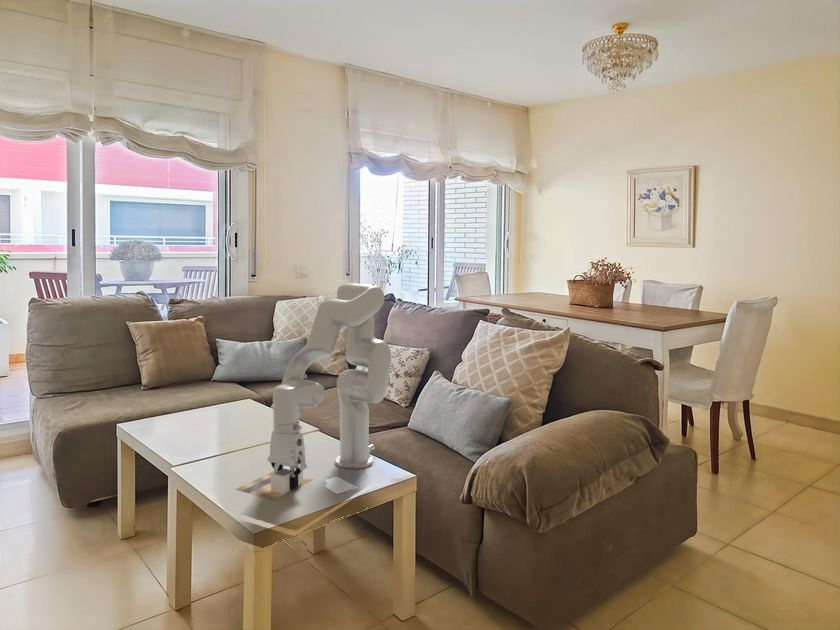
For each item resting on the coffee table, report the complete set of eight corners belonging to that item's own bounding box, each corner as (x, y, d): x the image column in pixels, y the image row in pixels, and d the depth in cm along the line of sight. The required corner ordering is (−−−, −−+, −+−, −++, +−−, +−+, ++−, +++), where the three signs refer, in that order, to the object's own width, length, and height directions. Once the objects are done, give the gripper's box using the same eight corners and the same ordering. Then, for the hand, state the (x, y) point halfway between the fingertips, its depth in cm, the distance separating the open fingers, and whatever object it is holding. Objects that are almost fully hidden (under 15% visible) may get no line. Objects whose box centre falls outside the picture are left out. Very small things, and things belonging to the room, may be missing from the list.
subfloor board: (277, 472, 197) (277, 469, 196) (314, 482, 189) (314, 478, 189) (235, 492, 181) (235, 489, 181) (274, 503, 174) (274, 500, 174)
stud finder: (291, 480, 188) (291, 463, 187) (303, 483, 186) (302, 466, 185) (271, 490, 180) (270, 473, 179) (282, 493, 178) (282, 476, 177)
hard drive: (359, 487, 184) (336, 474, 193) (335, 494, 178) (313, 481, 188) (359, 492, 184) (336, 479, 193) (335, 499, 178) (313, 486, 188)
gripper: (317, 428, 180) (317, 488, 182) (273, 419, 188) (274, 476, 190) (300, 435, 173) (301, 497, 176) (255, 425, 181) (256, 485, 184)
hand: (287, 485), depth 183 cm, fingers closed on stud finder, 4 cm apart
